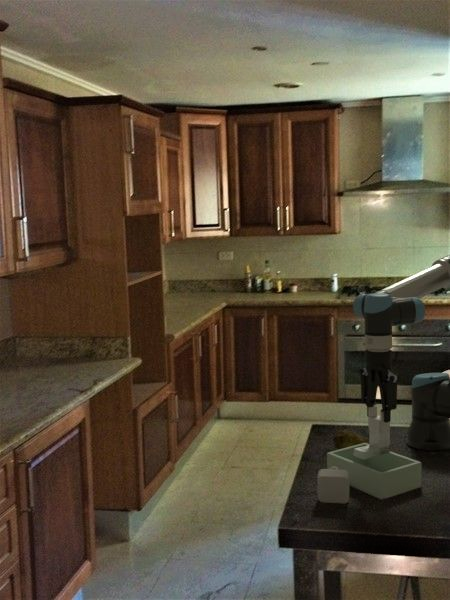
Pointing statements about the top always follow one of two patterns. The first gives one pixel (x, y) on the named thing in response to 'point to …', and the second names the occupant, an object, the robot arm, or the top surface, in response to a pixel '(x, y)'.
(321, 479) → the wall hook
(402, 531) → the top surface
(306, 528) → the top surface
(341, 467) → the open box
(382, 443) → the grey l-shaped block
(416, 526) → the top surface
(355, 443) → the potato
